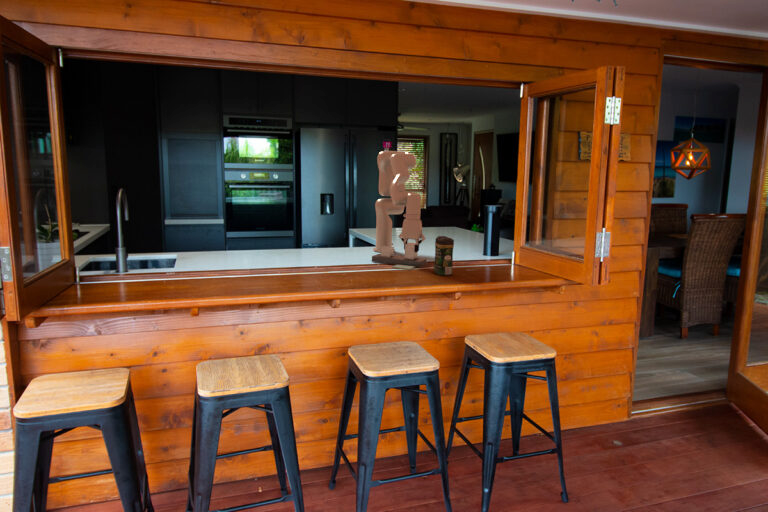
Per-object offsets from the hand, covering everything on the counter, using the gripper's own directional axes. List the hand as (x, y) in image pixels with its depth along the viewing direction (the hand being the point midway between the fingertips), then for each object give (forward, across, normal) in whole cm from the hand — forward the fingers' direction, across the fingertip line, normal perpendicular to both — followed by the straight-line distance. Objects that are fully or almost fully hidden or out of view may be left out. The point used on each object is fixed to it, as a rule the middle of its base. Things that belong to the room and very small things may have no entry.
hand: (411, 251), depth 276 cm
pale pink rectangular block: (+4, 0, 0) cm, 4 cm away
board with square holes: (+7, -6, 0) cm, 10 cm away
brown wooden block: (+7, -14, 0) cm, 15 cm away
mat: (+7, 0, -11) cm, 13 cm away
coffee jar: (+7, +22, -14) cm, 27 cm away
